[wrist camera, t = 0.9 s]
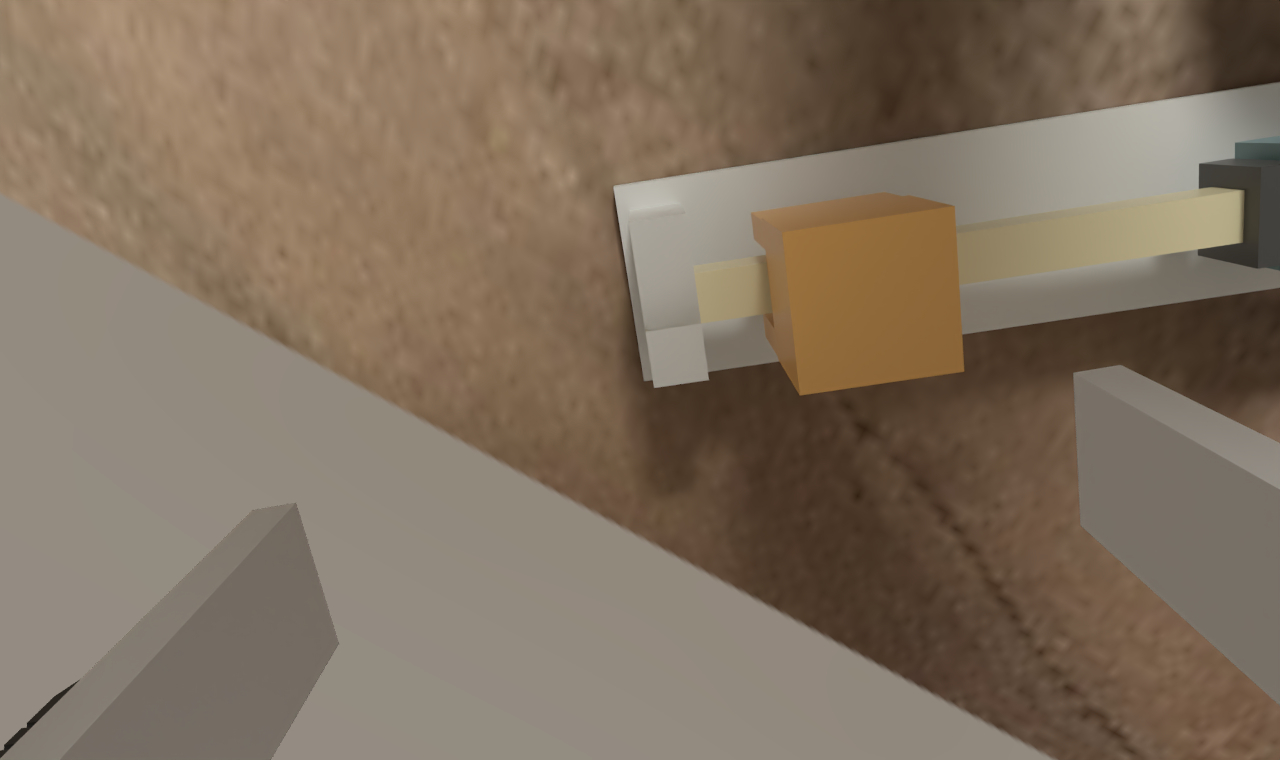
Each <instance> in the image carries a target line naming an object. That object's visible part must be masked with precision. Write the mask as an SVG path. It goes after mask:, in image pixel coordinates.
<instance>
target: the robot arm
mask: <svg viewBox="0 0 1280 760" xmlns="http://www.w3.org/2000/svg"><path fill="white" fill-rule="evenodd" d="M1073 379H1074V399H1075V420H1076V441H1077V462H1078V482H1079V503H1080V524H1081V526H1082V527H1083V528H1084V529H1085V530H1086V531H1087V532H1088V533H1089V534H1090V535H1092V536H1093V537H1094V538H1095V539H1096V540H1097V541H1098V542H1099V543H1100V544H1102V545H1103V546H1104V547H1105V548H1106V549H1107V550H1108V551H1109V552H1110V553H1111V554H1113V555H1114V556H1115V557H1116V558H1117V559H1118V560H1119V561H1120V562H1121V563H1123V564H1124V565H1125V566H1126V567H1127V568H1128V569H1129V570H1130V571H1131V572H1133V573H1134V574H1135V575H1136V576H1137V577H1138V578H1139V579H1140V580H1141V581H1142V582H1144V583H1145V584H1146V585H1147V586H1148V587H1149V588H1150V589H1151V590H1152V591H1154V592H1155V593H1156V594H1157V595H1158V596H1159V597H1160V598H1161V599H1162V600H1164V601H1165V602H1166V603H1167V604H1168V605H1169V606H1170V607H1171V608H1172V609H1173V610H1175V611H1176V612H1177V613H1178V614H1179V615H1180V616H1181V617H1182V618H1183V619H1185V620H1186V621H1187V622H1188V623H1189V624H1190V625H1191V626H1192V627H1193V628H1195V629H1196V630H1197V631H1198V632H1199V633H1200V634H1201V635H1202V636H1203V637H1204V638H1206V639H1207V640H1208V641H1209V642H1210V643H1211V644H1212V645H1213V646H1214V647H1216V648H1217V649H1218V650H1219V651H1220V652H1221V653H1222V654H1223V655H1224V656H1226V657H1227V658H1228V659H1229V660H1230V661H1231V662H1232V663H1233V664H1234V665H1235V666H1237V667H1238V668H1239V669H1240V670H1241V671H1242V672H1243V673H1244V674H1245V675H1247V676H1248V677H1249V678H1250V679H1251V680H1252V681H1253V682H1254V683H1255V684H1257V685H1258V686H1259V687H1260V688H1261V689H1262V690H1263V691H1264V692H1265V693H1267V694H1268V695H1269V696H1270V697H1271V698H1272V699H1273V700H1274V701H1275V702H1276V703H1278V704H1279V705H1280V443H1278V442H1276V441H1274V440H1272V439H1270V438H1268V437H1266V436H1264V435H1262V434H1260V433H1258V432H1256V431H1254V430H1252V429H1250V428H1248V427H1246V426H1244V425H1242V424H1240V423H1238V422H1236V421H1234V420H1232V419H1230V418H1228V417H1226V416H1224V415H1221V414H1219V413H1217V412H1215V411H1213V410H1211V409H1209V408H1207V407H1205V406H1203V405H1201V404H1199V403H1197V402H1195V401H1193V400H1191V399H1189V398H1187V397H1185V396H1183V395H1181V394H1179V393H1177V392H1175V391H1173V390H1171V389H1169V388H1167V387H1165V386H1163V385H1161V384H1159V383H1157V382H1155V381H1152V380H1150V379H1148V378H1146V377H1144V376H1142V375H1140V374H1138V373H1136V372H1134V371H1132V370H1130V369H1128V368H1126V367H1124V366H1122V365H1117V366H1111V367H1105V368H1099V369H1093V370H1087V371H1081V372H1075V373H1073ZM338 644H339V642H338V639H337V636H336V632H335V629H334V626H333V623H332V619H331V616H330V613H329V609H328V606H327V603H326V600H325V596H324V593H323V590H322V586H321V583H320V580H319V577H318V573H317V570H316V567H315V564H314V560H313V557H312V554H311V550H310V547H309V544H308V541H307V537H306V534H305V531H304V527H303V524H302V521H301V517H300V514H299V511H298V508H297V504H296V503H292V504H286V505H280V506H274V507H268V508H262V509H256V510H252V511H251V512H250V513H249V514H248V515H247V516H246V517H245V518H244V519H243V520H242V521H241V522H240V523H239V524H238V525H237V526H236V527H235V528H234V529H233V530H232V531H231V532H230V533H229V534H228V535H227V536H226V537H225V538H224V539H223V540H222V541H221V542H220V543H219V544H218V545H217V546H216V547H215V548H214V549H213V550H212V551H211V552H210V553H209V554H207V555H206V556H205V558H203V560H202V561H201V562H199V563H198V564H197V565H196V566H195V567H194V568H193V569H192V570H191V571H190V572H189V573H188V574H187V575H186V576H185V577H184V578H183V579H182V580H181V581H180V582H179V583H178V584H177V585H176V586H175V587H174V588H173V589H172V590H171V591H170V592H169V593H168V594H167V595H166V596H165V597H164V598H163V599H162V600H161V601H160V602H159V603H158V604H157V605H156V606H155V607H154V608H153V609H152V610H151V611H150V612H149V613H147V614H146V615H145V616H144V617H143V619H141V621H139V622H138V623H137V624H136V625H135V626H134V627H133V628H132V629H131V630H130V631H129V632H128V633H127V634H126V635H125V636H124V637H123V638H122V639H121V640H120V641H119V642H118V643H117V644H116V645H115V646H114V647H113V648H112V649H111V650H110V651H109V652H108V653H107V654H106V655H105V656H104V657H103V658H102V659H101V660H100V661H99V662H98V663H97V664H96V665H95V666H94V667H93V668H92V669H91V670H90V671H89V672H88V673H87V674H85V676H83V678H81V679H80V680H79V681H77V682H76V683H74V684H73V685H71V686H70V687H68V688H67V689H65V690H63V691H62V692H61V693H59V694H57V695H56V696H54V697H53V698H52V699H51V700H50V701H49V702H48V703H47V704H46V705H45V706H44V707H43V708H42V709H41V710H40V711H39V712H38V713H37V714H36V715H35V716H34V717H33V718H32V719H31V720H30V721H29V722H28V723H27V728H21V729H20V730H19V731H18V732H17V733H16V734H15V735H14V736H13V737H12V738H11V739H10V740H9V741H8V742H7V743H6V744H5V745H4V750H2V751H0V760H271V759H272V757H273V755H274V753H275V752H276V750H277V748H278V747H279V745H280V743H281V742H282V740H283V738H284V736H285V735H286V733H287V731H288V730H289V728H290V726H291V724H292V723H293V721H294V719H295V718H296V716H297V714H298V712H299V711H300V709H301V707H302V706H303V704H304V702H305V701H306V699H307V697H308V695H309V694H310V692H311V690H312V688H313V687H314V685H315V684H316V682H317V680H318V678H319V676H320V675H321V673H322V672H323V670H324V668H325V666H326V665H327V663H328V661H329V660H330V658H331V656H332V654H333V653H334V651H335V649H336V648H337V646H338Z"/></svg>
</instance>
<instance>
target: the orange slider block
mask: <svg viewBox="0 0 1280 760" xmlns="http://www.w3.org/2000/svg"><path fill="white" fill-rule="evenodd" d="M751 218H752V226H753V235H754V240H755V241H756V242H758V243H759V244H760V245H761V246H762V247H763V248H764V249H765V250H766V259H767V268H768V276H769V285H770V294H771V303H772V311H773V313H769V314H763V319H764V328H765V336H766V338H767V340H768V341H769V343H770V345H771V346H772V348H773V350H774V351H775V353H776V355H777V356H778V360H779V362H780V363H781V365H782V367H783V368H784V370H785V372H786V373H787V375H788V377H789V378H790V380H791V382H792V383H793V385H794V387H795V388H796V390H797V392H798V393H799V395H807V394H814V393H821V392H828V391H835V390H842V389H848V388H855V387H862V386H869V385H876V384H883V383H890V382H897V381H903V380H910V379H917V378H924V377H931V376H938V375H945V374H952V373H958V372H964V358H963V341H962V323H961V306H960V289H959V271H958V254H957V237H956V219H955V206H953V205H949V204H945V203H940V202H936V201H932V200H928V199H924V198H919V197H915V196H911V195H907V196H899V195H895V194H891V193H887V192H881V193H874V194H868V195H861V196H855V197H848V198H842V199H835V200H829V201H822V202H816V203H809V204H803V205H796V206H790V207H783V208H777V209H770V210H764V211H757V212H751Z"/></svg>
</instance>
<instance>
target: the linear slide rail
mask: <svg viewBox="0 0 1280 760" xmlns="http://www.w3.org/2000/svg"><path fill="white" fill-rule="evenodd" d="M613 188H614V194H615V200H616V207H617V213H618V219H619V226H620V232H621V238H622V245H623V251H624V257H625V264H626V270H627V276H628V283H629V289H630V295H631V302H632V308H633V314H634V321H635V327H636V333H637V340H638V346H639V352H640V359H641V365H642V372H643V378H644V381H650V380H653V384H654V388H658V387H665V386H672V385H678V384H685V383H692V382H699V381H706V380H709V377H708V372H711V371H718V370H725V369H731V368H738V367H745V366H752V365H758V364H765V363H772V362H779V360H778V356H777V355H776V353H775V351H774V350H773V348H772V346H771V345H770V343H769V341H768V340H767V338H766V336H765V328H764V319H763V314H769V313H773V311H772V303H771V294H770V285H769V276H768V268H767V259H766V250H765V249H764V248H763V247H762V246H761V245H760V244H759V243H758V242H756V241H755V240H754V235H753V226H752V218H751V212H757V211H764V210H770V209H777V208H783V207H790V206H796V205H803V204H809V203H816V202H822V201H829V200H835V199H842V198H848V197H855V196H861V195H868V194H874V193H881V192H887V193H891V194H895V195H899V196H907V195H911V196H915V197H919V198H924V199H928V200H932V201H936V202H940V203H945V204H949V205H953V206H955V219H956V237H957V254H958V271H959V289H960V306H961V323H962V334H969V333H976V332H983V331H990V330H996V329H1003V328H1010V327H1017V326H1023V325H1030V324H1037V323H1044V322H1051V321H1057V320H1064V319H1071V318H1078V317H1085V316H1091V315H1098V314H1105V313H1112V312H1119V311H1125V310H1132V309H1139V308H1146V307H1153V306H1159V305H1166V304H1173V303H1180V302H1187V301H1193V300H1200V299H1207V298H1214V297H1221V296H1227V295H1234V294H1241V293H1248V292H1255V291H1261V290H1268V289H1275V288H1280V82H1274V83H1267V84H1261V85H1254V86H1248V87H1242V88H1235V89H1229V90H1222V91H1216V92H1210V93H1203V94H1197V95H1190V96H1184V97H1178V98H1171V99H1165V100H1158V101H1152V102H1146V103H1139V104H1133V105H1127V106H1120V107H1114V108H1107V109H1101V110H1095V111H1088V112H1082V113H1075V114H1069V115H1063V116H1056V117H1050V118H1043V119H1037V120H1031V121H1024V122H1018V123H1011V124H1005V125H999V126H992V127H986V128H980V129H973V130H967V131H960V132H954V133H948V134H941V135H935V136H928V137H922V138H916V139H909V140H903V141H896V142H890V143H884V144H877V145H871V146H864V147H858V148H852V149H845V150H839V151H832V152H826V153H820V154H813V155H807V156H801V157H794V158H788V159H781V160H775V161H769V162H762V163H756V164H749V165H743V166H737V167H730V168H724V169H717V170H711V171H705V172H698V173H692V174H685V175H679V176H673V177H666V178H660V179H654V180H647V181H641V182H634V183H628V184H622V185H615V186H614V187H613Z"/></svg>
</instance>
